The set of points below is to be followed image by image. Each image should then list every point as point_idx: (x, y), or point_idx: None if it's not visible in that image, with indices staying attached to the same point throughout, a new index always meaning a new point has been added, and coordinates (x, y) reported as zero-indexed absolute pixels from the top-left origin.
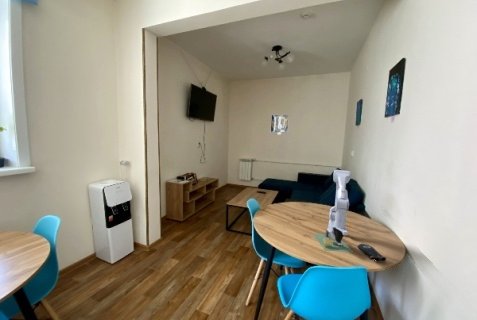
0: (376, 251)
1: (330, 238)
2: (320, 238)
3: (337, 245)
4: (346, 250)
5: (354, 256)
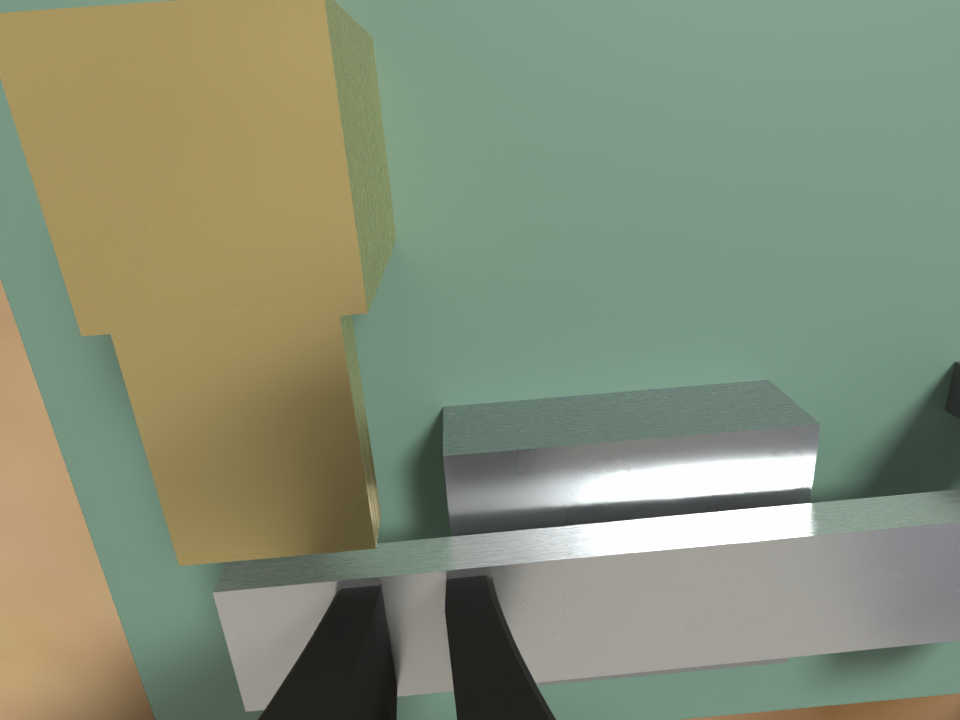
0: None
1: (704, 439)
2: (852, 91)
3: (434, 523)
4: (209, 655)
5: (109, 714)
